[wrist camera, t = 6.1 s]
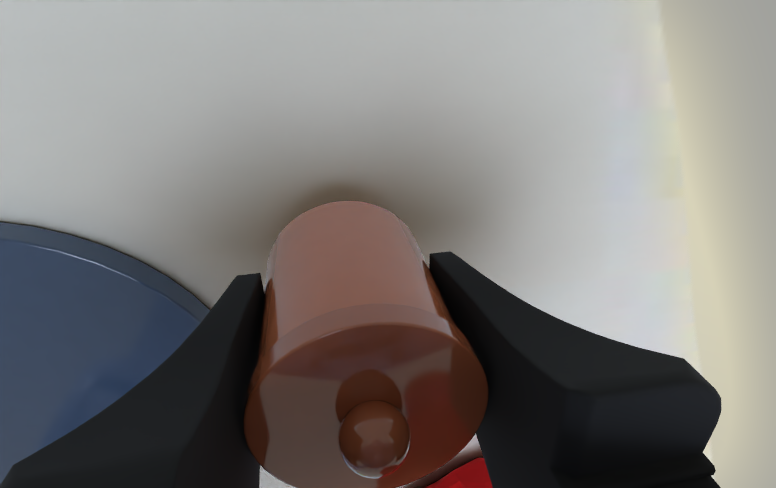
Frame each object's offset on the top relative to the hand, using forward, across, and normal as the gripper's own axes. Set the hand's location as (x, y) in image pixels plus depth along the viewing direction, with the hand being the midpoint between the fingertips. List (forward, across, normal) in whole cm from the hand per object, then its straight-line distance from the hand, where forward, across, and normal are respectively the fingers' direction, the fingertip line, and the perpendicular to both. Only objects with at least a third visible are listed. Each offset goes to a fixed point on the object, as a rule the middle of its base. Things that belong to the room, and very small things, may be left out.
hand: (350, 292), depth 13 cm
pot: (+1, 0, 0) cm, 1 cm away
